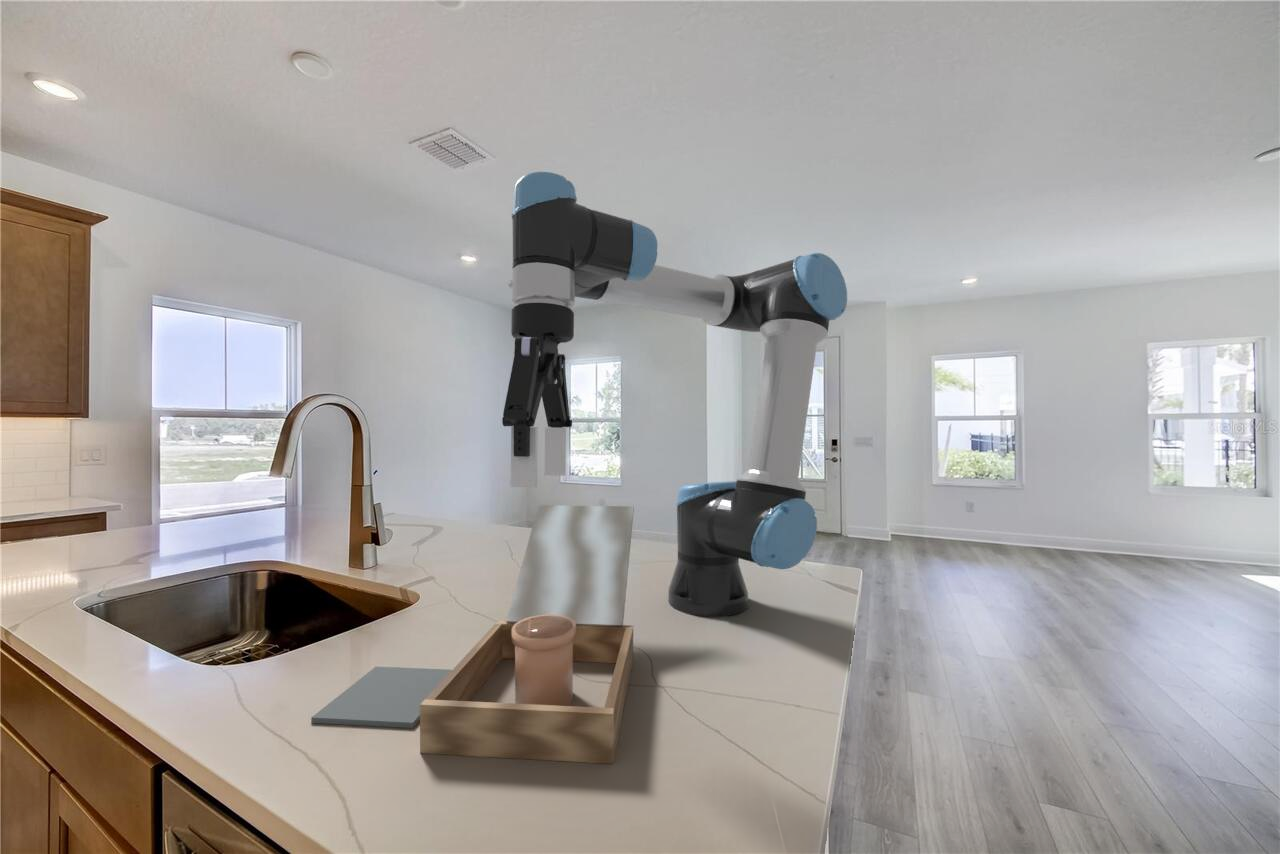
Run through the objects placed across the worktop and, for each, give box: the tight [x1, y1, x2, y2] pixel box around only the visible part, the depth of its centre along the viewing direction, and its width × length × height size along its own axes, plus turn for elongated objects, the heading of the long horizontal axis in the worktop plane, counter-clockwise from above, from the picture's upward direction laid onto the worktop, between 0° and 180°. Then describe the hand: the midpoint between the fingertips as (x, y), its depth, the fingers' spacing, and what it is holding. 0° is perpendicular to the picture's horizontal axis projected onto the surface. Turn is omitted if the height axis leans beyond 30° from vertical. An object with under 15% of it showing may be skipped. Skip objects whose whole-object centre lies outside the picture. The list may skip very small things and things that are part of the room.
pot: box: [512, 615, 576, 706], centre depth 62 cm, size 8×8×9 cm
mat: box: [310, 666, 453, 729], centre depth 62 cm, size 12×12×1 cm
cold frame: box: [419, 504, 635, 765], centre depth 70 cm, size 20×39×20 cm, turn 175°
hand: (541, 480), depth 61 cm, fingers open, 13 cm apart
